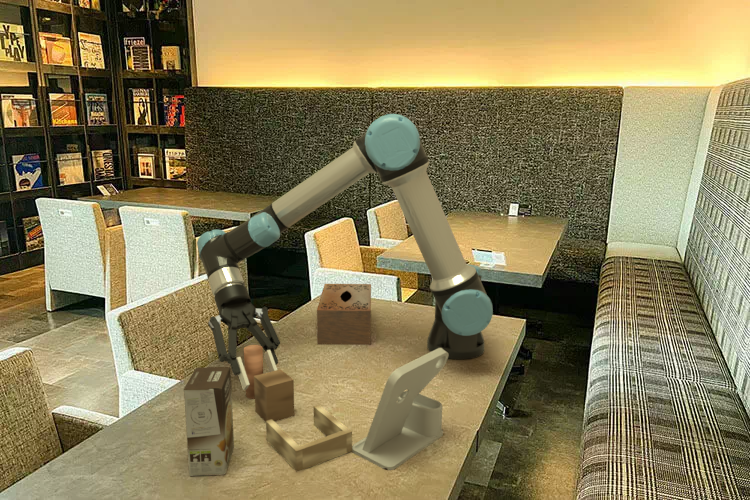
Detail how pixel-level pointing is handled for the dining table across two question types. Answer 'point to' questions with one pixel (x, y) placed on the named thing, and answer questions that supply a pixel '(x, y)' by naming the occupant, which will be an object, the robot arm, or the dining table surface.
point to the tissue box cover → (344, 315)
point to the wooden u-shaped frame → (317, 450)
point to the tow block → (268, 387)
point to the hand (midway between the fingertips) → (261, 383)
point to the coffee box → (209, 420)
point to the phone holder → (405, 414)
